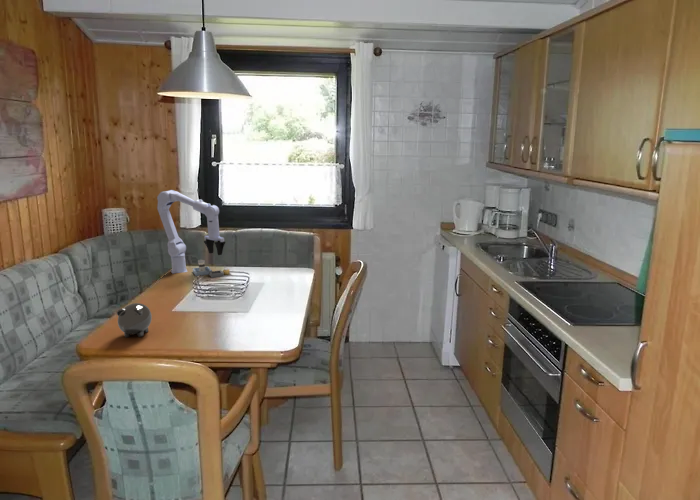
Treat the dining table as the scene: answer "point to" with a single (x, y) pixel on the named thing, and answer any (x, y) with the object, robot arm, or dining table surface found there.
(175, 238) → the robot arm
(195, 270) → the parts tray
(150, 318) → the piggy bank
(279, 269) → the dining table surface
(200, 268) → the fuse
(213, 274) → the fuse block
